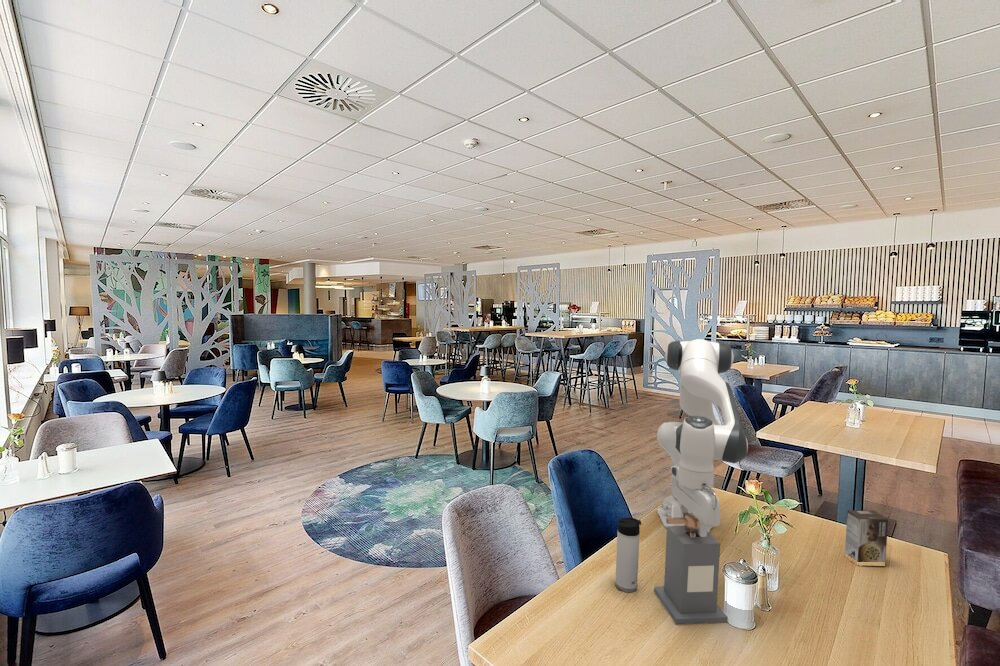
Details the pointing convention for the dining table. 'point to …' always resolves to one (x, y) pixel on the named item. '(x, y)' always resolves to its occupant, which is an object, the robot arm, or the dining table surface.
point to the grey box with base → (691, 578)
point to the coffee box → (866, 536)
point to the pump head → (687, 523)
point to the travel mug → (627, 554)
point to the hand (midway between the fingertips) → (693, 526)
